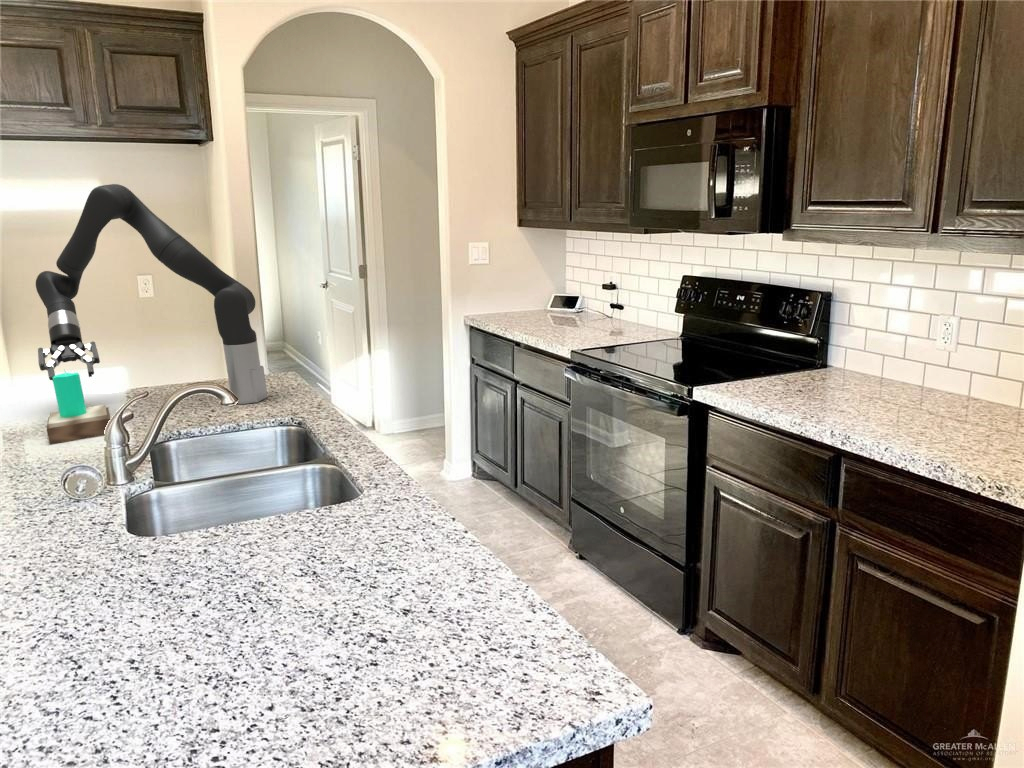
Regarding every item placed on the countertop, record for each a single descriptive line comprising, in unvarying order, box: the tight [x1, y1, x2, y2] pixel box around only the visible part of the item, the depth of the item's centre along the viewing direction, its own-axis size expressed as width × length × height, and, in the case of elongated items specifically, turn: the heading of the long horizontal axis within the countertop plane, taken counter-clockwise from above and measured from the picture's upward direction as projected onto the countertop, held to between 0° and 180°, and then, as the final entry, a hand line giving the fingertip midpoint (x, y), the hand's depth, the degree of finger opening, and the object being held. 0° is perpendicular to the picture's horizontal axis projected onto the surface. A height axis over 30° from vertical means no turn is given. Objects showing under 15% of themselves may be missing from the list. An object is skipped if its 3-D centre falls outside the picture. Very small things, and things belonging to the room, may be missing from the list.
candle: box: [52, 368, 87, 417], centre depth 194 cm, size 6×6×12 cm
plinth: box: [46, 404, 111, 445], centre depth 196 cm, size 14×14×5 cm
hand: (72, 377), depth 203 cm, fingers open, 8 cm apart
